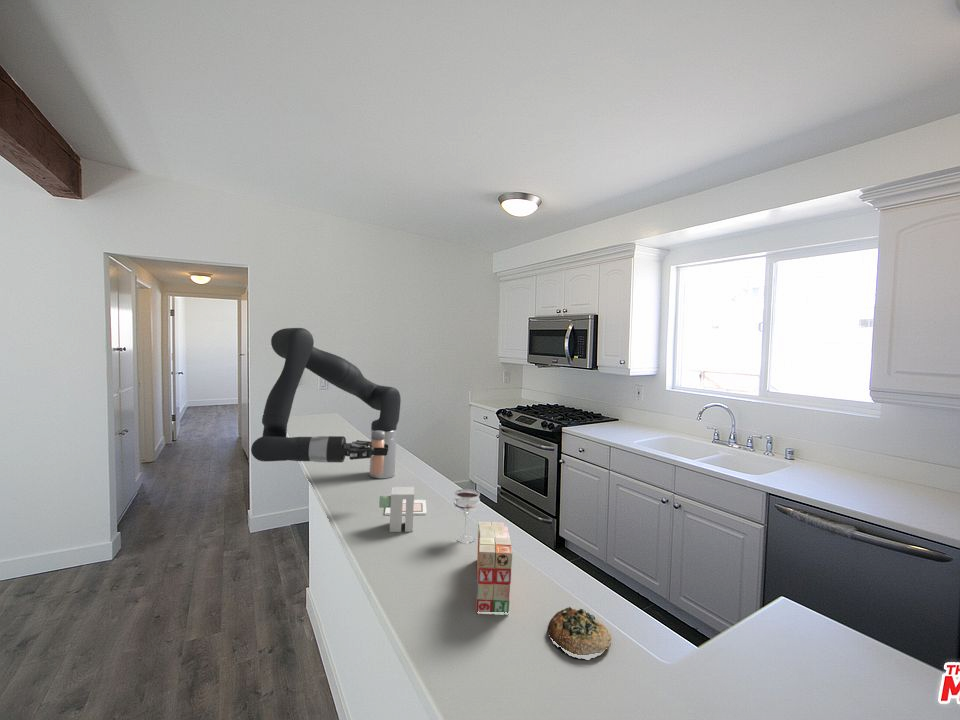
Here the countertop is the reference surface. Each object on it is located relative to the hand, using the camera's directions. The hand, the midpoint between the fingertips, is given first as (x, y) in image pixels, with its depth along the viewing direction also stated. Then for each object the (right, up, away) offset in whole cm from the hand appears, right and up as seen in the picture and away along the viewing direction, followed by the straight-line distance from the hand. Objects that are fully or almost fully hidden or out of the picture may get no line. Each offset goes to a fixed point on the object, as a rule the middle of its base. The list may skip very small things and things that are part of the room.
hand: (387, 449), depth 132 cm
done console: (+6, -19, -11) cm, 23 cm away
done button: (+3, -13, -12) cm, 18 cm away
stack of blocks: (+30, -21, -38) cm, 53 cm away
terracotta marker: (-3, -7, 0) cm, 8 cm away
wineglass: (+24, -20, -17) cm, 35 cm away
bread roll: (+45, -22, -54) cm, 74 cm away
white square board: (+5, -18, +3) cm, 19 cm away
